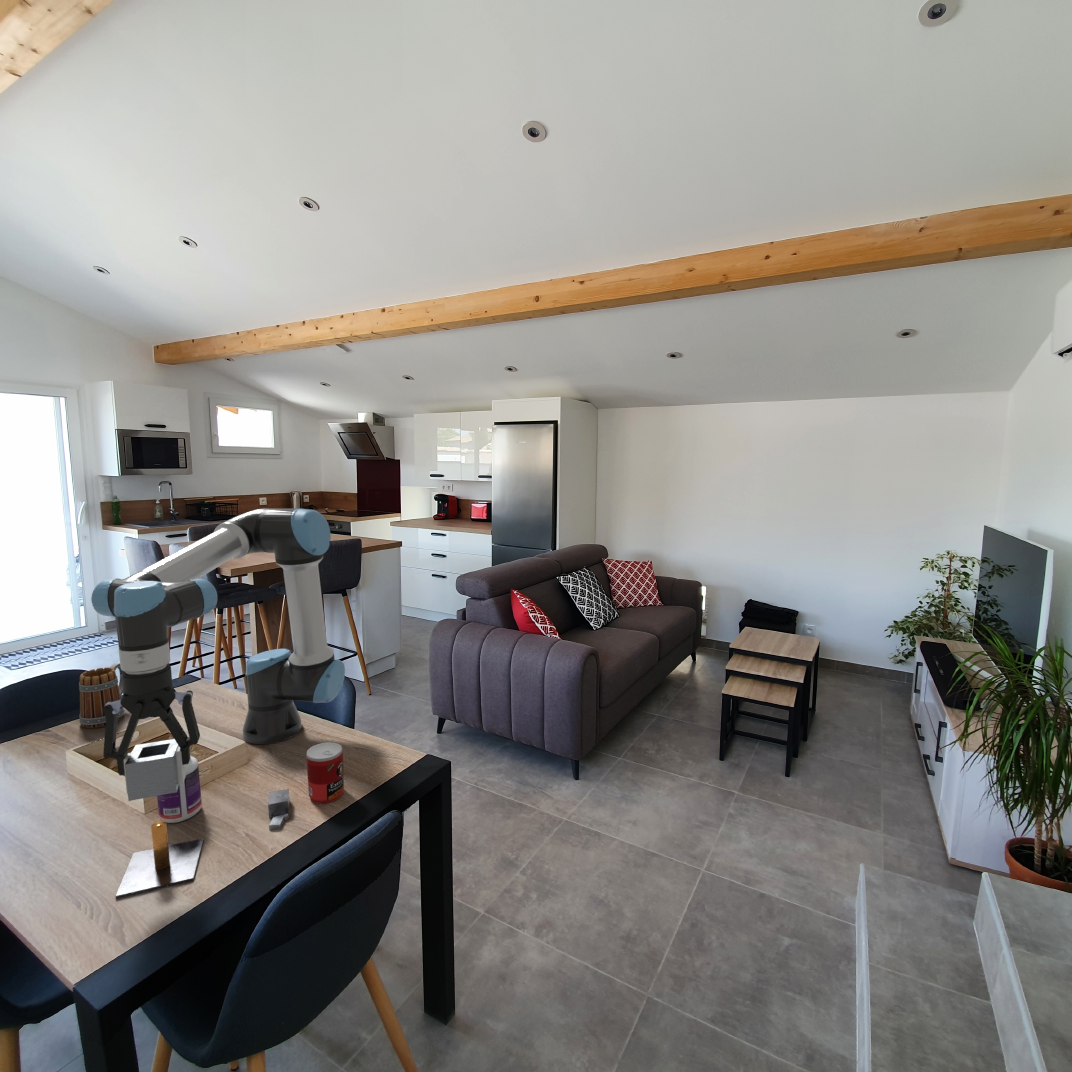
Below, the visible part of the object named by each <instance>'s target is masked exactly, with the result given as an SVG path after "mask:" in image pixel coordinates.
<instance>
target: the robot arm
mask: <svg viewBox="0 0 1072 1072" xmlns="http://www.w3.org/2000/svg"><path fill="white" fill-rule="evenodd" d="M331 539H332V538H331V530H330V525H329V522H328V521H327V519H326V517H325V516H324V515H322V514H321V513H320V512H319V511H317V510H315V509H306V508H298V507H297V508H295V507H294V508H276V507H274V508H270V507H265V508H264V507H263V508H257V509H253V510H250V511H249V510H248V511H247V512H244V513H242V514H239V515H236V516H233V517H231V518H230V519H228V520H226V521H224V522H222V523H220V524H218V525H217V526H215V529H214V530H213V532H212V533H210V534H208V535H206V536H204V537H203V538H200V539H198V540H196V541H194V542H193V543H191V544H189V545H187V546H185V547H183V548H182V549H179V550H177V551H175V552H173V553H171V554H170V555H168V556H166V557H164V558H163V559H160V560H158V561H156V562H154V563H153V564H151V565H149V566H147V567H145V568H143V569H142V570H139V571H138V572H136V573H134V574H132V575H130V576H127V577H125V578H122V579H121V578H111V579H105V580H102V581H101V582H99V583H97V584H96V586H95V587H94V588H93V591H92V593H91V598H90V601H91V604H92V607H93V609H94V610H95V612H96V613H97V614H100V615H101V616H106V617H111V618H115V625H116V626H115V628H116V636H117V641H118V642H117V644H118V645H117V646H118V655H119V663H120V667H121V670H123V673H122V674H121V678H122V688H123V693H122V696H121V700H118V701H108V702H107V703H106V705H105V706H104V707H103V712H104V715H105V717H106V726H104V728H105V729H104V740H103V741H104V742H103V754H102V755H103V756H102V757H103V758H104V759H105V760H106V759H107V760H108V759H115V760H116V763H117V765H116V766H117V773H118V775H119V776H124V777H125V778H124V779H125V787H126V788H125V790H126V794H127V795H128V792H127V782H126V772H125V763H126V761H127V760H128V758H129V756H130V754H131V752H128V750H129V747H130V745H131V743H132V740H133V737H134V734H135V731H136V729H137V726H138V723H139V722H140V720H144V719H147V718H159V719H160V721H162V722H163V723H164V725H165V726H166V728H167V729H168V731H169V733H170V734H171V736H172V738H173V739H175V741H176V742H177V744H178V748H177V750H176V759H177V770H178V782H179V784H183V783H184V780H185V777H186V773H185V764H188V763H189V761H190V758H191V757H190V753H191V748H190V747H191V746H192V745H194V746H195V745H197V744H198V743H199V740H200V737H201V734H200V729H199V726H198V725H199V724H198V721H197V717H196V715H195V714H196V713H195V711H194V706H193V703H192V700H193V695H194V691H192V690H187V691H185V692H181V691H180V692H179V691H178V692H177V690H176V689H175V688H174V686H173V676H172V666H171V664H169V663H170V662H171V653H170V652H171V651H170V641H169V639H170V638H169V628H171V627H174V626H177V625H180V624H183V623H185V622H189V621H192V620H194V619H199V618H201V617H202V616H204V615H208V613H211V612H213V610H214V609H215V608H216V606H217V603H218V593H217V592H218V591H217V589H216V587H215V586H214V585H213V583H211V582H210V581H208V580H207V579H204V578H202V577H204V576H205V575H207V574H209V573H210V572H212V571H213V570H216V568H219V567H220V566H221V565H224V564H226V562H228V561H230V560H232V559H234V560H235V559H242V558H244V557H245V556H246V555H249V554H256V553H258V554H259V553H269V554H274V557H275V559H274V560H275V564H276V565H277V566H279V567H280V568H282V570H283V572H282V573H283V579H284V586H285V594H286V600H287V608H288V609H287V610H288V616H289V618H288V619H289V624H290V626H289V627H290V632H291V639H292V640H291V641H292V647H293V652H291V649H288V648H275V649H269V650H266V651H262V652H259V653H256V654H254V655H252V656H251V657H249V659H247V661H246V663H245V681H246V682H245V684H246V694H247V695H246V696H247V708H248V709H247V713H246V717H245V719H244V722H243V723H244V724H243V727H242V735H243V736H242V737H243V740H244V741H245V742H247V743H249V744H254V745H267V744H268V745H269V744H275V743H279V742H282V741H285V740H288V739H290V738H292V737H294V736H296V735H297V734H298V733H299V732H300V731H301V729H302V718H301V715H300V714H299V712H298V709H297V707H296V704H295V703H294V701H297V702H308V703H309V702H310V703H314V704H318V703H325V704H327V703H330V702H332V701H333V700H334V699H336V697H337V696H338V694H339V693H340V690H342V687H343V685H344V681H345V674H346V668H345V664H344V662H342V660H340V659H335V651H334V649H333V648H332V647H331V646H329V645H328V639H327V630H326V624H325V623H326V622H325V615H324V605H323V604H324V603H323V597H322V587H321V580H320V571H319V564H320V563H321V562H322V560H323V559H324V554H325V553H326V552H327V551H328V550H329V548H330V542H331ZM174 700H177V703H178V705H180V706H181V709H182V714H183V719H184V722H185V726H186V729H187V733H188V734H187V733H186V732H185V730H184V729H183V727H182V725H181V724H180V722H179V720H178V719H177V717H176V716H175V713H174V711H173V708H172V706H171V704H172V703H173V702H174ZM121 706H123V709H125V710H126V711H127V712H128V713H129V714H131V715H130V717H129V721H128V723H127V726H126V728H125V731H124V734H123V737H122V739H121V741H120V745H119V747H116V744H117V733H118V731H117V729H118V721H117V720H118V712H119V711H120V707H121ZM127 752H128V753H127Z"/></svg>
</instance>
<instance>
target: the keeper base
mask: <svg viewBox="0 0 1072 1072" xmlns="http://www.w3.org/2000/svg"><path fill="white" fill-rule="evenodd" d="M150 829H151V841H152V848H151V849H145V850H141V851H136V852H133V854H132V856H131V858H130V860H129V863H128V865H127V868H126V870H125V872H124V874H123V877H122V880H121V882H120V884H119V887H118V889H117V892H116V894H115V900H119V899H122V898H127V897H130V896H135V895H139V894H143V893H147V892H151V891H155V890H160V889H165V888H168V887H172V886H173V887H174V886H177V885H181V884H185V883H186V884H187V883H190V882H193V881H194V880H195V877H196V872H197V869H198V865H199V861H200V856H201V852H202V848H203V845H204V837H203V838H198V839H194V840H188V841H184V842H179V843H172V844H169V838H168V837H169V836H168V827H167V822H166V821H162V820H158V821H155V822H154V823H152V824H151V826H150Z"/></svg>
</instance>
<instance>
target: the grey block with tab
mask: <svg viewBox="0 0 1072 1072" xmlns="http://www.w3.org/2000/svg"><path fill="white" fill-rule="evenodd" d="M267 807H268V818H272V819H271V820H270V823H269V825H268V828H269V829H268V830H281V828H282V826H283V825H284V822H285V821H287V820H289V814H290V789H289V788H283V789H279V790H274V791H269V793H268V803H267Z"/></svg>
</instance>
